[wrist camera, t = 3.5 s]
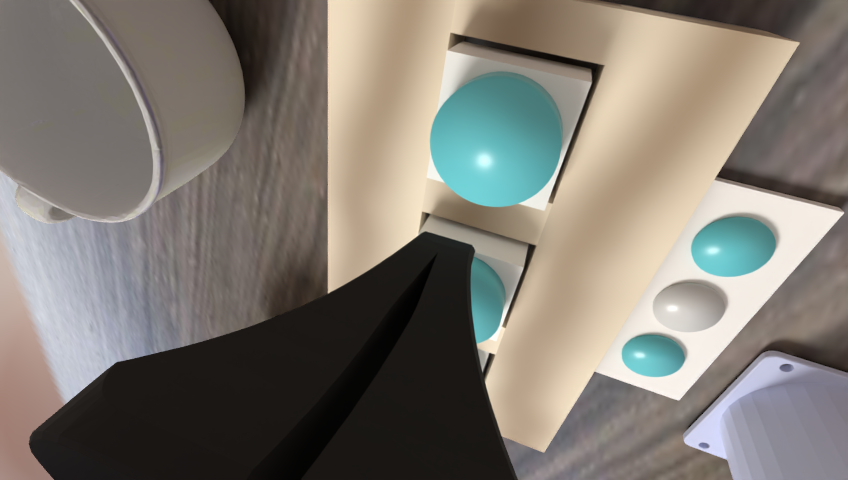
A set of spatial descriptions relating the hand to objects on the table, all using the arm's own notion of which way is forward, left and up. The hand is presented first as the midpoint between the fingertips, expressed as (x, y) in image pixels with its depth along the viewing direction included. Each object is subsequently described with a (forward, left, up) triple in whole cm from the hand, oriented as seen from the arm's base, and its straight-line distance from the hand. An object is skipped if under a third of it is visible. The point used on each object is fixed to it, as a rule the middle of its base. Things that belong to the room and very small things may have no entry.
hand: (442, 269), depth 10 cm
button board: (0, +5, -10) cm, 11 cm away
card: (-10, +5, -10) cm, 15 cm away
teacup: (+18, +1, -10) cm, 20 cm away
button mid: (0, +5, -7) cm, 9 cm away
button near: (0, -2, -7) cm, 7 cm away
